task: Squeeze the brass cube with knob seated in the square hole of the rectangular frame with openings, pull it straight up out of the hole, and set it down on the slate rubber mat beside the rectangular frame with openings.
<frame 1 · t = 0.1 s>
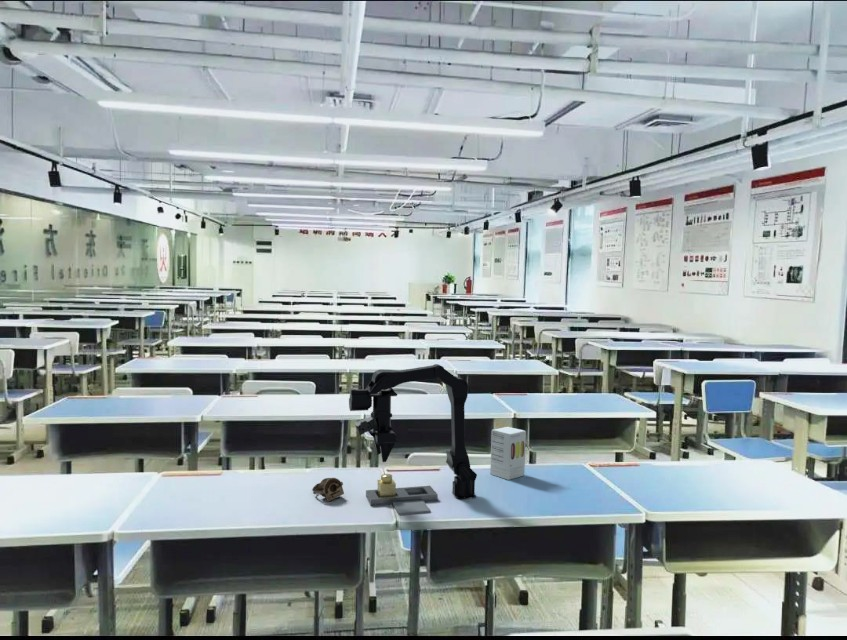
hand: (381, 457, 201), 14 cm above the table, fingers open, 9 cm apart
brown piece: (328, 496, 208), on the table
rectangular frame with openings: (401, 498, 206), on the table
mat: (410, 507, 197), on the table
brass cube with knob: (386, 499, 204), resting in rectangular frame with openings
supplement box: (507, 475, 233), on the table
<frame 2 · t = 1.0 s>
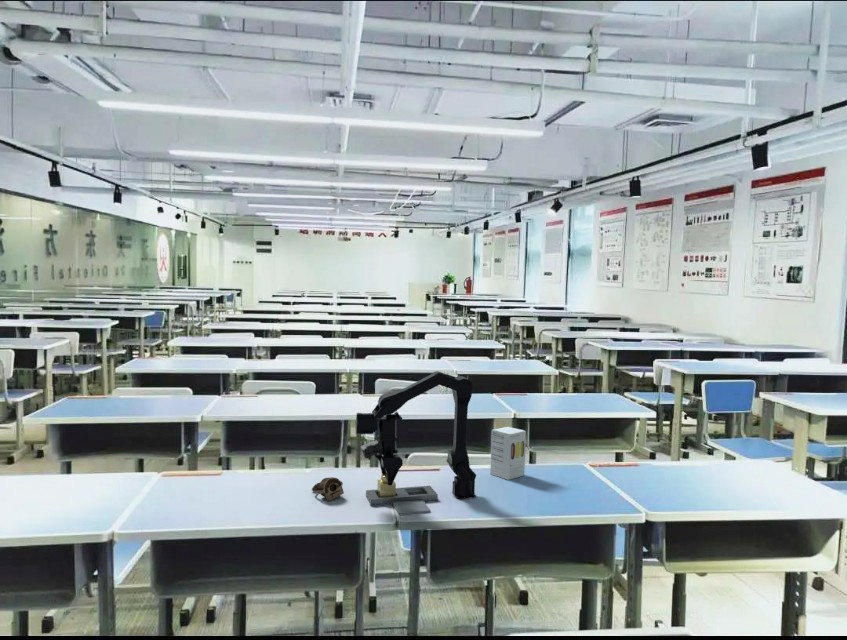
hand: (386, 480, 204), 6 cm above the table, fingers open, 9 cm apart
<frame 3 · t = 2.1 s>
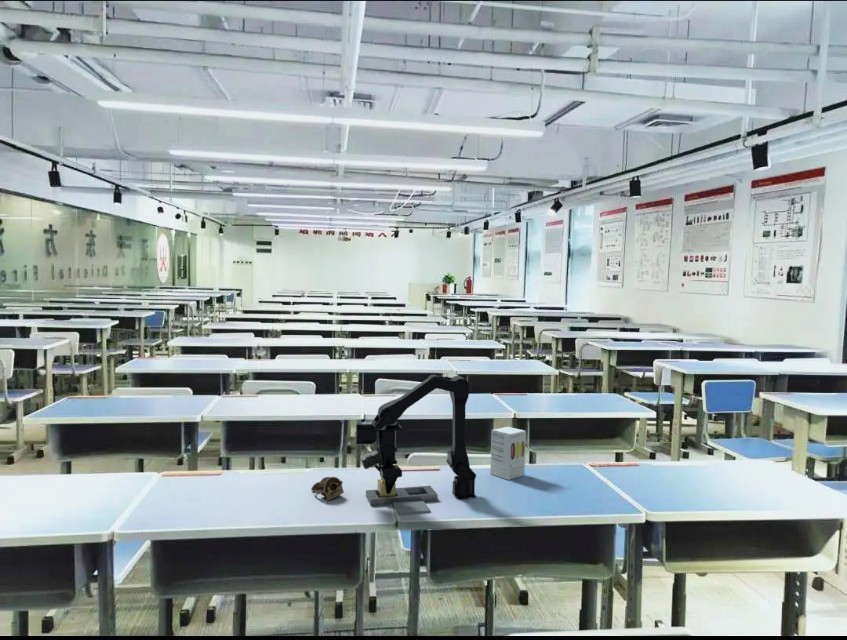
hand: (386, 491, 204), 3 cm above the table, fingers closed on brass cube with knob, 5 cm apart
brass cube with knob: (386, 499, 204), resting in rectangular frame with openings, touching gripper
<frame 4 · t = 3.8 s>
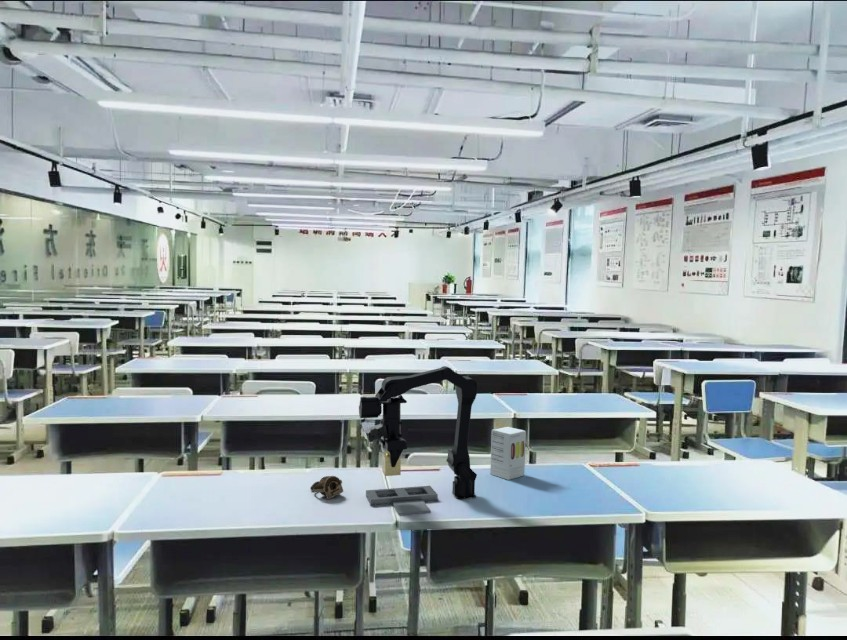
hand: (391, 464, 203), 12 cm above the table, fingers closed on brass cube with knob, 5 cm apart
brass cube with knob: (391, 473, 203), point 9 cm above the table, touching gripper
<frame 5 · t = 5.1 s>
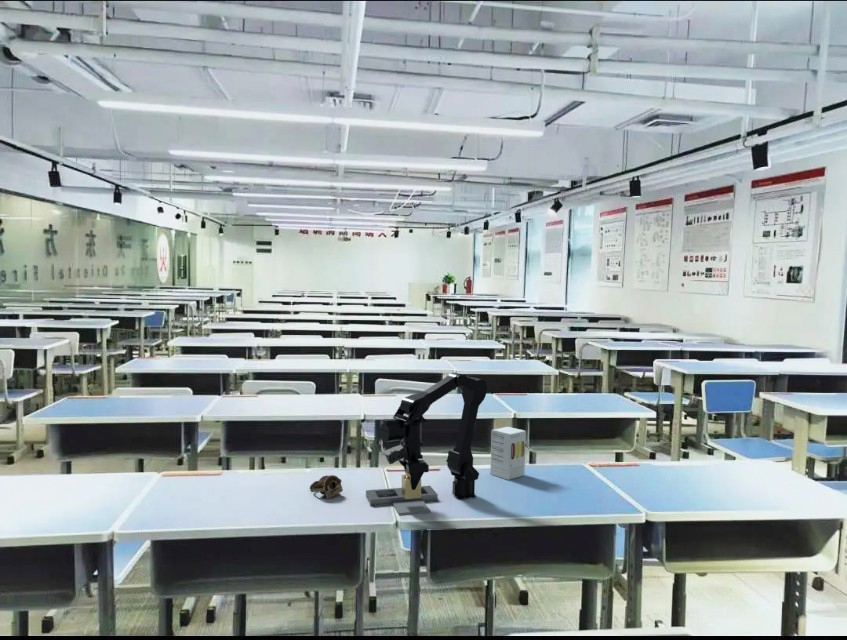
hand: (411, 486, 197), 7 cm above the table, fingers closed on brass cube with knob, 5 cm apart
brass cube with knob: (411, 495, 197), point 4 cm above the table, touching gripper
when the fingers open (5 cm above the table, at t = 5.8 s): brass cube with knob drops 1 cm, resting on mat.
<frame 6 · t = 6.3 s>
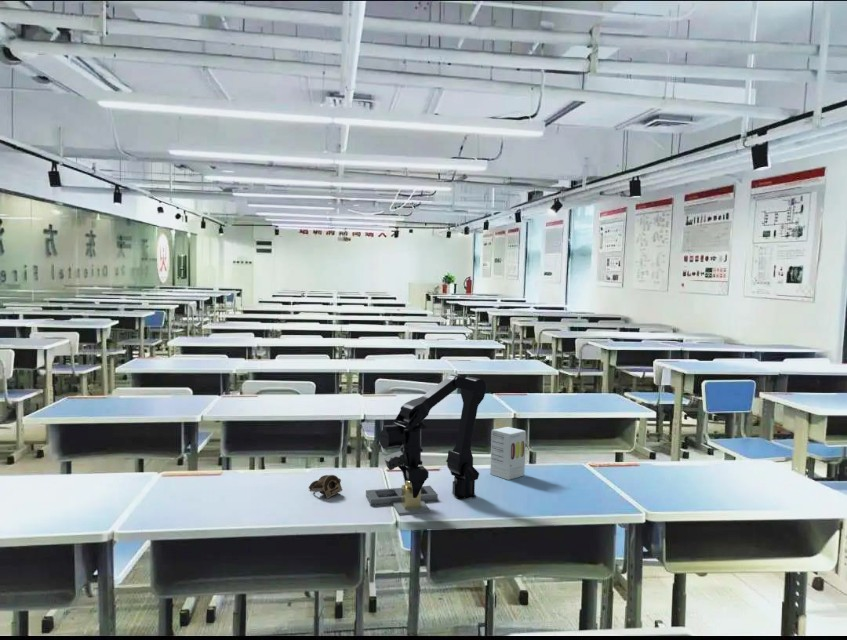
hand: (411, 492, 197), 5 cm above the table, fingers open, 9 cm apart
brass cube with knob: (410, 505, 197), point 1 cm above the table, touching mat
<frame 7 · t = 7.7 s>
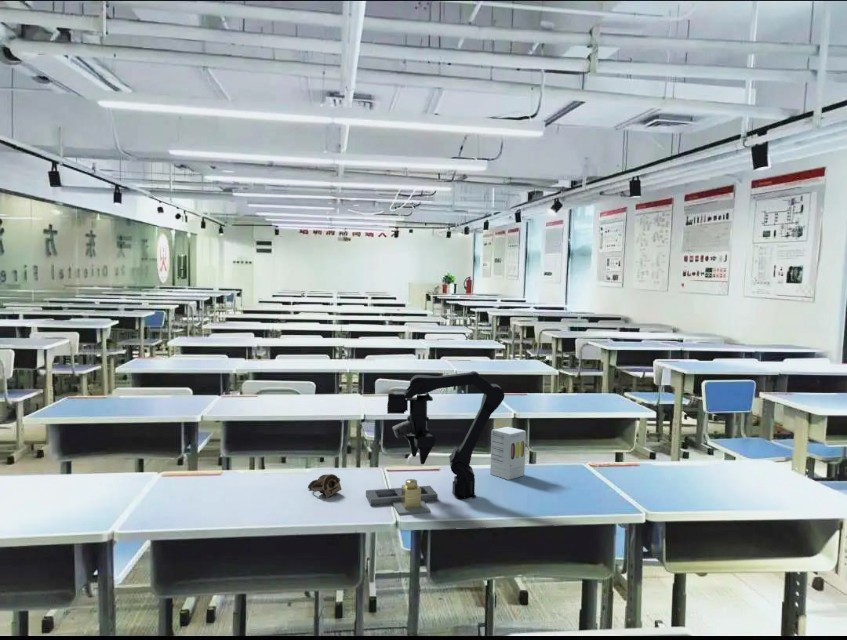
hand: (418, 460, 208), 12 cm above the table, fingers open, 9 cm apart
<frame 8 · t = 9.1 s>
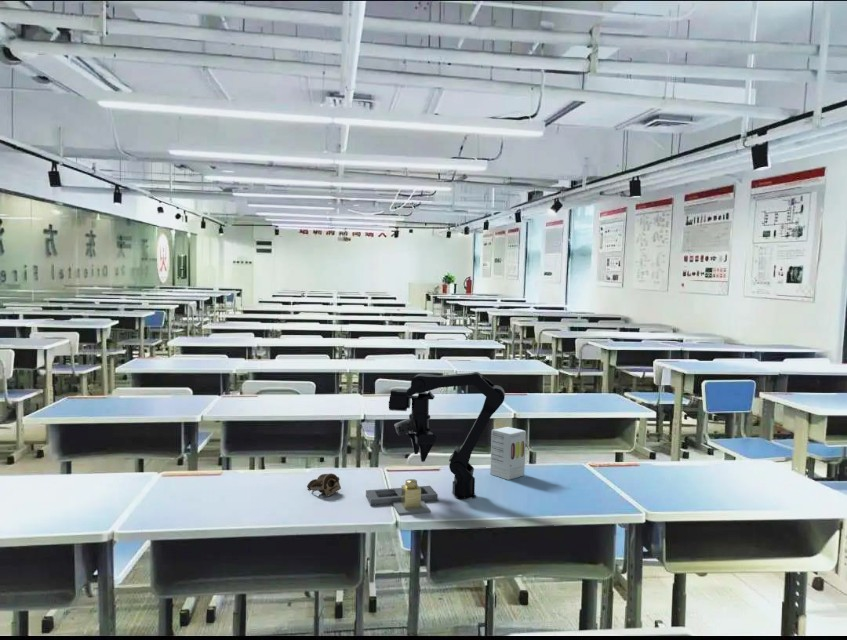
hand: (419, 457, 211), 12 cm above the table, fingers open, 9 cm apart
at the end: brass cube with knob inside the target area on the mat (0.0 cm from its centre), point 0.6 cm above the mat's base; brass cube with knob tilted 0°; the gripper is holding nothing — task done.
